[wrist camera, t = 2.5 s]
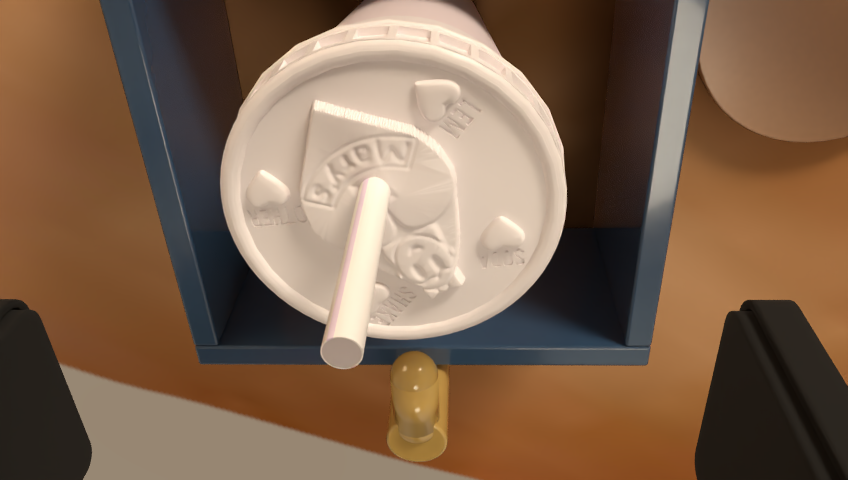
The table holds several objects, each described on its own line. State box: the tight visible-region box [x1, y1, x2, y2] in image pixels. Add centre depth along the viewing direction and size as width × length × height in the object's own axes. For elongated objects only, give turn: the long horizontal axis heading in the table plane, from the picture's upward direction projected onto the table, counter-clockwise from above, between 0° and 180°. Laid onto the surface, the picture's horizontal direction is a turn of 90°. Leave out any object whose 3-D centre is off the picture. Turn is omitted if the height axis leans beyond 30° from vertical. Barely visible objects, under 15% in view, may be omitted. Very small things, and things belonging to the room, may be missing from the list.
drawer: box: [99, 0, 709, 462], centre depth 18 cm, size 16×12×8 cm
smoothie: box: [220, 0, 567, 369], centre depth 16 cm, size 6×6×14 cm
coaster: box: [698, 0, 848, 143], centre depth 20 cm, size 8×8×1 cm
